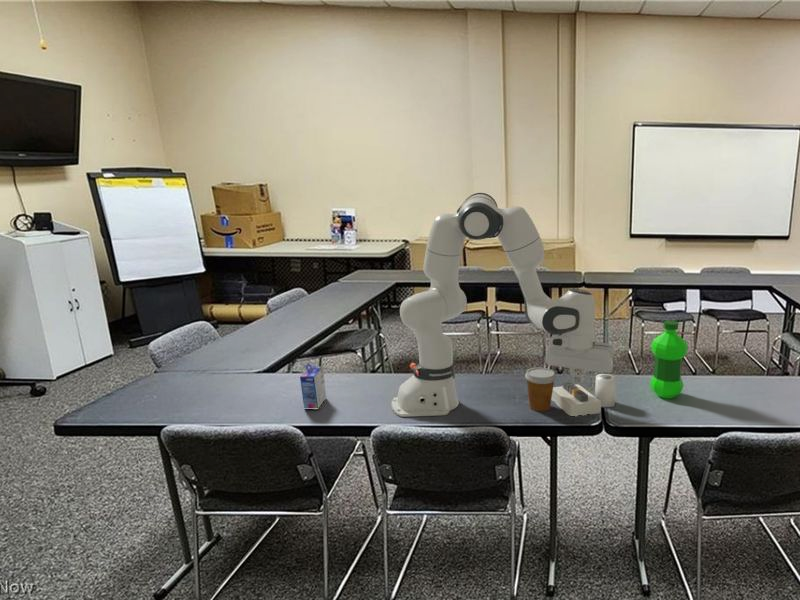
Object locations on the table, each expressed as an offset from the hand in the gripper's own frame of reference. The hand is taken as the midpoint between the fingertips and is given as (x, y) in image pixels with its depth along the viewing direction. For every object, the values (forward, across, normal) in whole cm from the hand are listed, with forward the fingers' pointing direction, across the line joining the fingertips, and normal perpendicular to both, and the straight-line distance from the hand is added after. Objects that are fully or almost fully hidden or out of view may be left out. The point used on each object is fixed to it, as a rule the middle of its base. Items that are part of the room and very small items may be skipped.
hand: (577, 381), depth 165 cm
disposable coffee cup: (+8, +10, +7) cm, 15 cm away
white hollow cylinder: (+8, -8, -5) cm, 12 cm away
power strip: (+8, +3, -2) cm, 9 cm away
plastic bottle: (+8, -24, -20) cm, 32 cm away
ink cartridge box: (+8, +79, +37) cm, 88 cm away
